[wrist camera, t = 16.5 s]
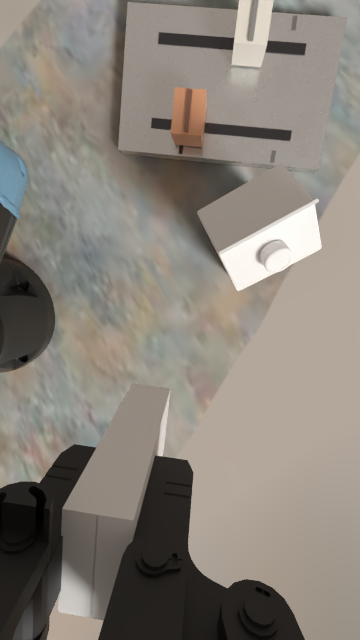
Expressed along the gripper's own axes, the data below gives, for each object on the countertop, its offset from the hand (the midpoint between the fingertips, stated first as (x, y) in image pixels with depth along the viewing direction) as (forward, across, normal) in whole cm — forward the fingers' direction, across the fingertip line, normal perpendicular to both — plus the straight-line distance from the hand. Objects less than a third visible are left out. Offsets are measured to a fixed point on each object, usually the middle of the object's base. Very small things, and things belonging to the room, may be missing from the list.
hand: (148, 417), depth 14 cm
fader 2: (+28, +3, +27) cm, 39 cm away
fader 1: (+28, -2, +19) cm, 34 cm away
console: (+30, +1, +23) cm, 38 cm away
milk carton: (+31, +5, +8) cm, 32 cm away
